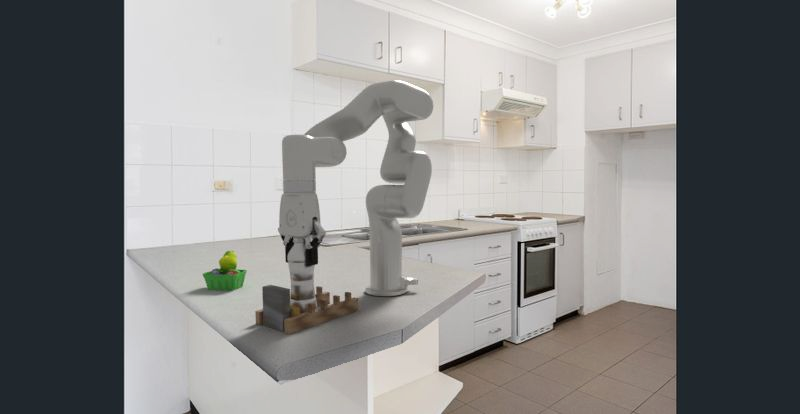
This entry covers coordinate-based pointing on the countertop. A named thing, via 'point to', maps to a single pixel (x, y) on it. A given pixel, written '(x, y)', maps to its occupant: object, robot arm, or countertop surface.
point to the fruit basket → (225, 274)
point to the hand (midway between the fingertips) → (301, 262)
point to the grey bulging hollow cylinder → (301, 276)
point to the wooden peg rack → (289, 317)
